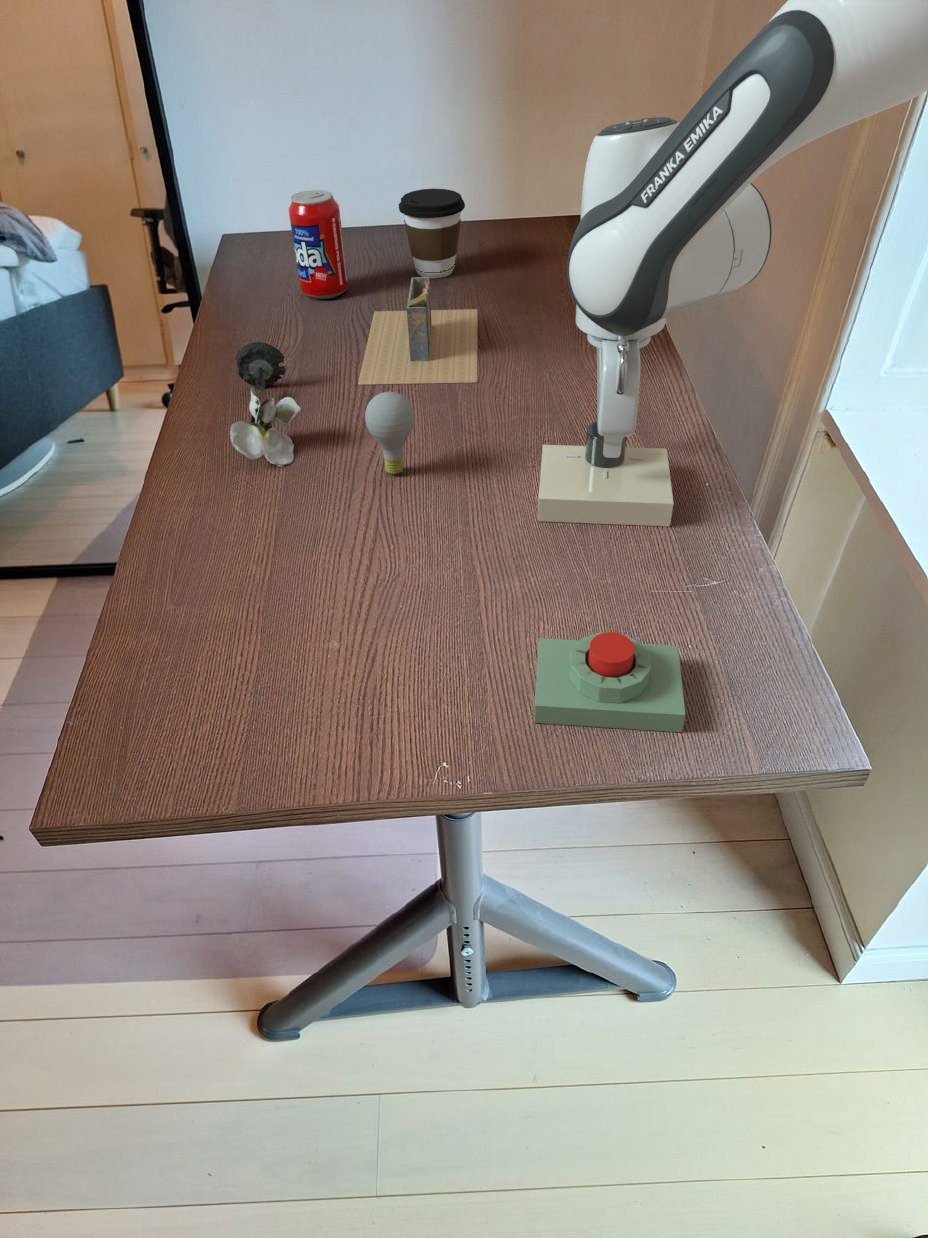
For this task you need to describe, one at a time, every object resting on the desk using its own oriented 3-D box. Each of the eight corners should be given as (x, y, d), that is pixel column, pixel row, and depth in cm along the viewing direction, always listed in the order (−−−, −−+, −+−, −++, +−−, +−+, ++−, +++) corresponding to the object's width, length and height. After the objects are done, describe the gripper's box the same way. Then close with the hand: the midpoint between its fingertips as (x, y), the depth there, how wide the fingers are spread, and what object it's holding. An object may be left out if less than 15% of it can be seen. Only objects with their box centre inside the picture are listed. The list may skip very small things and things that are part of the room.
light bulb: (423, 481, 98) (417, 401, 91) (377, 489, 97) (368, 409, 90) (412, 457, 102) (406, 379, 95) (367, 465, 101) (358, 387, 94)
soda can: (358, 291, 141) (347, 194, 131) (321, 305, 137) (306, 206, 127) (329, 280, 145) (317, 184, 135) (292, 293, 141) (276, 196, 131)
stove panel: (662, 462, 99) (666, 438, 97) (670, 527, 90) (674, 502, 88) (542, 458, 101) (543, 434, 99) (537, 521, 91) (538, 496, 89)
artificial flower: (300, 389, 118) (309, 324, 111) (290, 494, 104) (299, 428, 96) (234, 377, 116) (239, 310, 109) (214, 483, 101) (218, 414, 94)
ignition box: (674, 663, 75) (681, 630, 72) (681, 732, 69) (689, 699, 66) (538, 655, 76) (539, 622, 73) (534, 723, 70) (535, 690, 68)
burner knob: (585, 446, 97) (588, 415, 94) (625, 448, 96) (628, 418, 94) (583, 466, 94) (586, 436, 91) (624, 469, 93) (627, 438, 90)
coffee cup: (431, 288, 141) (427, 211, 133) (390, 271, 147) (384, 197, 139) (479, 271, 146) (478, 196, 138) (438, 255, 152) (435, 183, 144)
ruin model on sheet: (477, 382, 116) (476, 311, 109) (357, 384, 116) (349, 314, 110) (477, 309, 134) (476, 245, 128) (374, 311, 135) (368, 247, 128)
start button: (631, 648, 71) (633, 633, 70) (633, 679, 69) (635, 664, 67) (588, 646, 72) (589, 630, 70) (588, 676, 69) (589, 661, 68)
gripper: (660, 351, 75) (644, 484, 84) (649, 268, 90) (636, 389, 100) (588, 350, 76) (580, 482, 85) (589, 268, 91) (582, 388, 100)
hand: (610, 431), depth 93 cm, fingers open, 8 cm apart
